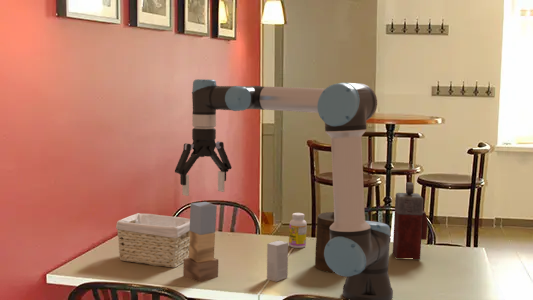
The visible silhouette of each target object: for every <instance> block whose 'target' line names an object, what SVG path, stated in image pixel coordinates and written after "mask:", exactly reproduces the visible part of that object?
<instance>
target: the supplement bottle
mask: <svg viewBox="0 0 533 300" xmlns="http://www.w3.org/2000/svg"><path fill="white" fill-rule="evenodd" d="M304 218H305V213H302V212H294V213H292V219H291V220H290V221H289V226H288V227H289V228H288V229H289V230H288V231H289V234H288V247H289V248H290V247H291V248H294V249H302V248H305V247H306V246H307V228H308V227H307V224H308V223H307V221H306V220H305V219H304Z"/></svg>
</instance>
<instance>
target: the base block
mask: <svg viewBox="0 0 533 300" xmlns="http://www.w3.org/2000/svg"><path fill="white" fill-rule="evenodd" d="M182 276H183V277H184V278H188V279H191V280H192V281H193V280H194V281H196V282H199V283H200V282H201V283H202V282H204V281H208V280H211V279H215V278H218V277H219V259H218V258H216V257H214V260H213V261H205V262H196V261H194V260H192V259H191V258H185V259H184V263H183V275H182Z"/></svg>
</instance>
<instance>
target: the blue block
mask: <svg viewBox="0 0 533 300" xmlns="http://www.w3.org/2000/svg"><path fill="white" fill-rule="evenodd" d="M217 207H218V205H217V204H213V203H211V202H207V201H202V202H201V201H200V202H191V203H190V210H189V211H190V212H189V213H190V214H189V216H190V217H189V219H190V230H189V231H192V232H194V233H197V234H199V235H203V234H209V233H215V234H216V227H217V209H218V208H217Z"/></svg>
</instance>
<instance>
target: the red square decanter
mask: <svg viewBox="0 0 533 300" xmlns="http://www.w3.org/2000/svg"><path fill="white" fill-rule="evenodd" d="M414 185H415V184H414V182H406V184H405V192H396V193H395V199H394V201H395V202H394V221H393V239H392V241H393V242H392V254H394V255H393V257H394V256H395V257H396V258H413V259H420V260H421V254H422V253H421V251H422V250H421V248H422V240H425V241H426V240H427V239H428V238H427V237H428V222H429V221H428V217H427V213H426V212H425V210H424V197H422V195H420V194H419V193H417V192H416V193H414V190H415V189H414ZM395 257H394V258H395Z"/></svg>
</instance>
